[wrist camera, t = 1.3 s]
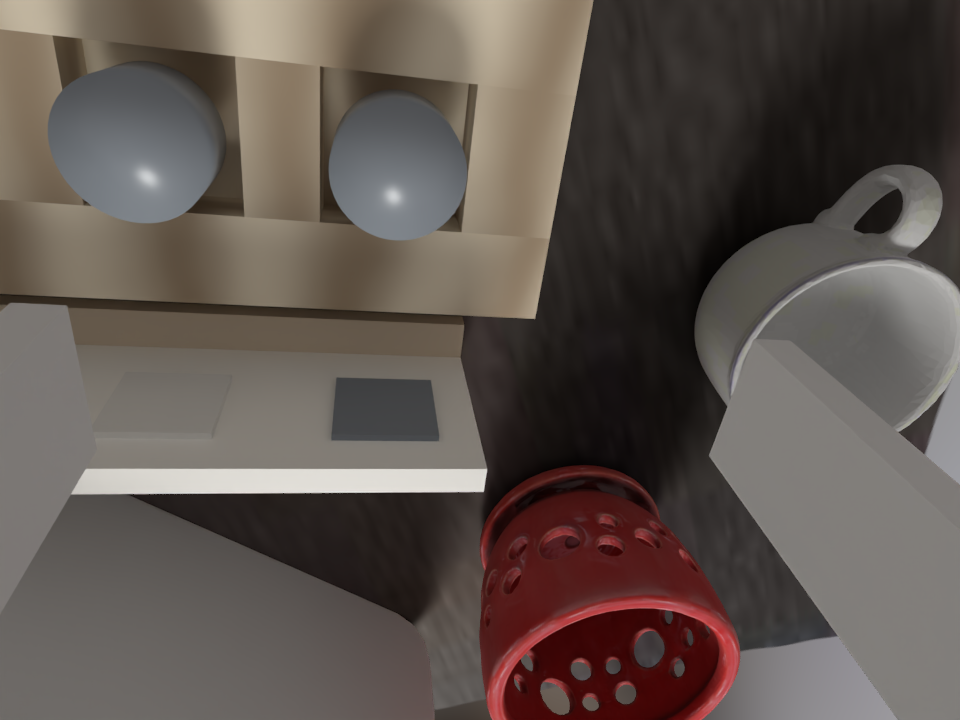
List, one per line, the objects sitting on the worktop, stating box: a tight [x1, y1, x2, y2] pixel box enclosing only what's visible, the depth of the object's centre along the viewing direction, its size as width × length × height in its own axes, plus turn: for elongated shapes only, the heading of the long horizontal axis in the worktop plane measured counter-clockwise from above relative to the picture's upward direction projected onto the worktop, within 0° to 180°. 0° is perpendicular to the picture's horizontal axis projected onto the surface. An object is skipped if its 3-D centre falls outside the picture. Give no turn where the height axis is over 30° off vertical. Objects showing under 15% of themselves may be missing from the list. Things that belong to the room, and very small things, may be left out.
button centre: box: [48, 61, 226, 223], centre depth 23 cm, size 5×5×3 cm
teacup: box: [695, 165, 960, 432], centre depth 31 cm, size 14×11×8 cm
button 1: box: [329, 89, 467, 240], centre depth 25 cm, size 5×5×3 cm
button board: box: [0, 0, 593, 319], centre depth 25 cm, size 32×14×3 cm, turn 83°
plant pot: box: [479, 465, 740, 720], centre depth 37 cm, size 13×13×12 cm
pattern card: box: [0, 295, 487, 494], centre depth 28 cm, size 26×5×10 cm, turn 83°
